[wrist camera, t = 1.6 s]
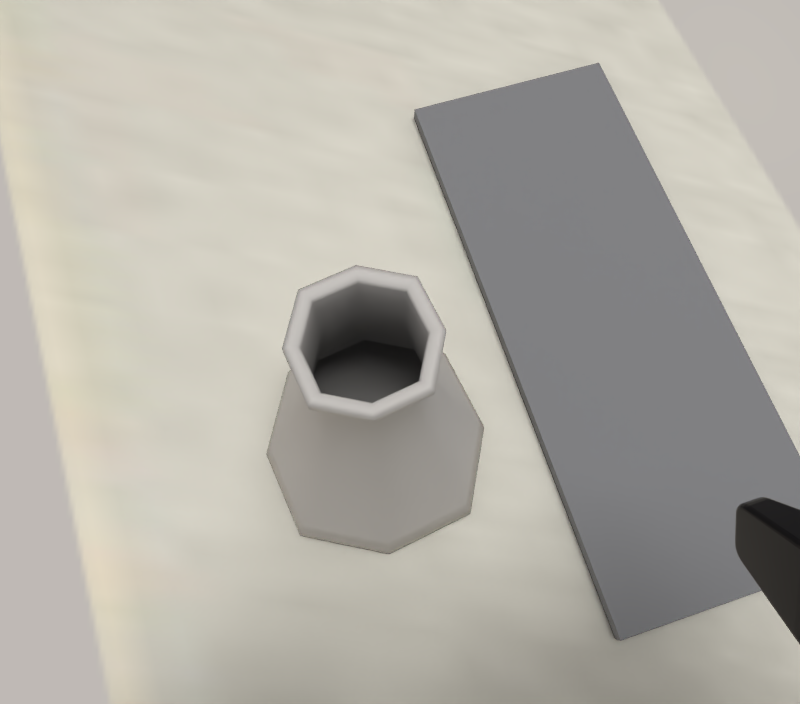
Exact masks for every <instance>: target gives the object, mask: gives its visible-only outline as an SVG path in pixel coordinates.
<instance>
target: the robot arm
mask: <svg viewBox="0 0 800 704" xmlns="http://www.w3.org/2000/svg"><path fill="white" fill-rule="evenodd" d="M735 547H736V551H737V554H738V556H739V558H740V560H741V561H742V563H743V564H744V566H745V567H746V569H747V570H748V572H749V573H750V574H751V576H752V577H753V579H754V580H755V582H756V583H757V584H758V586H759V587H760V589H761V590H762V591H763V593H764V594H765V596H766V597H767V599H768V600H769V601H770V603H771V604H772V606H773V607H774V609H775V610H776V611H777V613H778V614H779V616H780V617H781V619H782V620H783V621H784V623H785V624H786V626H787V627H788V628H789V630H790V631H791V633H792V634H793V636H794V637H795V638H796V640H797V641H798V642H799V644H800V509H797V508H795V507H792V506H789V505H786V504H784V503H781V502H778V501H776V500H773V499H770V498H766V497H759V498H756V499H753V500H750V501H747V502H744V503H742V504H740V505H739V506H738V507H737V509H736V523H735Z"/></svg>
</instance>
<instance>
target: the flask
mask: <svg viewBox="0 0 800 704" xmlns="http://www.w3.org/2000/svg"><path fill="white" fill-rule="evenodd" d="M445 335H446V329H445V327H444V325H443V323H442V321H441V319H440V317H439V316H438V314H437V312H436V310H435V308H434V306H433V304H432V303H431V301H430V299H429V297H428V295H427V293H426V291H425V290H424V288H423V286H422V284H421V282H420V280H419V278H418V277H417V276H412V275H406V274H401V273H396V272H390V271H385V270H379V269H374V268H369V267H363V266H358V265H355V266H353V267H351V268H348V269H346V270H343V271H341V272H339V273H336V274H334V275H332V276H329V277H327V278H325V279H322V280H320V281H318V282H315V283H313V284H310V285H308V286H306V287H303V288H301V289H299V290H298V292H297V296H296V299H295V303H294V307H293V310H292V314H291V318H290V321H289V325H288V329H287V332H286V336H285V340H284V343H283V347H282V350H283V353H284V355H285V357H286V360H287V362H288V364H289V366H290V369H291V370H290V371H289V372H288V375H287V378H286V382H285V386H284V390H283V393H282V397H281V401H280V405H279V409H278V412H277V416H276V420H275V424H274V427H273V431H272V435H271V439H270V442H269V446H268V450H267V456H268V459H269V461H270V464H271V466H272V468H273V471H274V473H275V476H276V478H277V480H278V483H279V485H280V488H281V490H282V492H283V495H284V497H285V500H286V502H287V504H288V507H289V509H290V512H291V514H292V516H293V519H294V521H295V523H296V526H297V528H298V531H299V533H300V535H301V536H306V537H311V538H316V539H321V540H325V541H330V542H335V543H340V544H345V545H349V546H354V547H359V548H364V549H369V550H374V551H378V552H383V553H388V554H390V553H392V552H394V551H396V550H398V549H400V548H402V547H404V546H406V545H408V544H410V543H412V542H414V541H416V540H418V539H420V538H422V537H424V536H426V535H428V534H430V533H432V532H434V531H436V530H438V529H440V528H442V527H444V526H446V525H448V524H450V523H452V522H454V521H456V520H458V519H460V518H462V517H464V516H466V515H468V514H470V512H471V506H472V500H473V494H474V487H475V481H476V475H477V469H478V462H479V456H480V450H481V444H482V437H483V431H484V426H483V424H482V422H481V420H480V418H479V417H478V415H477V413H476V411H475V409H474V407H473V405H472V403H471V401H470V400H469V398H468V396H467V394H466V392H465V390H464V388H463V386H462V384H461V383H460V381H459V379H458V377H457V375H456V373H455V371H454V369H453V367H452V366H451V364H450V362H449V360H448V358H447V356H446V354H445V353H442V351H443V346H444V341H445Z"/></svg>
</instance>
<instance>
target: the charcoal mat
mask: <svg viewBox="0 0 800 704" xmlns="http://www.w3.org/2000/svg"><path fill="white" fill-rule="evenodd" d="M414 119H415V121H416V124H417V126H418V129H419V131H420V134H421V137H422V139H423V142H424V144H425V147H426V150H427V152H428V155H429V157H430V160H431V163H432V165H433V168H434V170H435V173H436V175H437V178H438V181H439V183H440V186H441V188H442V191H443V194H444V196H445V199H446V201H447V204H448V207H449V209H450V212H451V214H452V217H453V219H454V222H455V225H456V227H457V230H458V232H459V235H460V238H461V240H462V243H463V245H464V248H465V251H466V253H467V256H468V258H469V261H470V263H471V266H472V269H473V271H474V274H475V276H476V279H477V282H478V284H479V287H480V289H481V292H482V295H483V297H484V300H485V302H486V305H487V307H488V310H489V313H490V315H491V318H492V320H493V323H494V326H495V328H496V331H497V333H498V336H499V338H500V341H501V344H502V346H503V349H504V351H505V354H506V357H507V359H508V362H509V364H510V367H511V370H512V372H513V375H514V377H515V380H516V382H517V385H518V388H519V390H520V393H521V395H522V398H523V401H524V403H525V406H526V408H527V411H528V414H529V416H530V419H531V421H532V424H533V426H534V429H535V432H536V434H537V437H538V439H539V442H540V445H541V447H542V450H543V452H544V455H545V458H546V460H547V463H548V465H549V468H550V470H551V473H552V476H553V478H554V481H555V483H556V486H557V489H558V491H559V494H560V496H561V499H562V502H563V504H564V507H565V509H566V512H567V514H568V517H569V520H570V522H571V525H572V527H573V530H574V533H575V535H576V538H577V540H578V543H579V546H580V548H581V551H582V553H583V556H584V558H585V561H586V564H587V566H588V569H589V571H590V574H591V577H592V579H593V582H594V584H595V587H596V590H597V592H598V595H599V597H600V600H601V602H602V605H603V608H604V610H605V613H606V615H607V618H608V621H609V623H610V626H611V628H612V631H613V633H614V636H615V639H617V640H623V639H626V638H629V637H632V636H635V635H638V634H640V633H643V632H646V631H649V630H652V629H654V628H657V627H660V626H663V625H666V624H668V623H671V622H674V621H677V620H680V619H682V618H685V617H688V616H691V615H694V614H697V613H699V612H702V611H705V610H708V609H711V608H713V607H716V606H719V605H722V604H725V603H727V602H730V601H733V600H736V599H739V598H741V597H744V596H747V595H750V594H753V593H756V592H758V591H761V589H760V587H759V586H758V584H757V583H756V582H755V580H754V579H753V577H752V576H751V574H750V573H749V572H748V570H747V569H746V567H745V566H744V564H743V563H742V561H741V560H740V558H739V556H738V554H737V551H736V547H735V523H736V509H737V507H738V506H739V505H740V504H742V503H744V502H747V501H750V500H753V499H756V498H759V497H766V498H770V499H773V500H776V501H778V502H781V503H784V504H786V505H789V506H792V507H795V508H797V509H800V456H799V454H798V452H797V450H796V448H795V446H794V444H793V442H792V440H791V438H790V436H789V434H788V432H787V430H786V428H785V426H784V424H783V422H782V420H781V418H780V416H779V415H778V413H777V411H776V409H775V407H774V405H773V403H772V401H771V399H770V397H769V395H768V393H767V391H766V389H765V387H764V385H763V383H762V381H761V379H760V377H759V375H758V373H757V371H756V369H755V368H754V366H753V364H752V362H751V360H750V358H749V356H748V354H747V352H746V350H745V348H744V346H743V344H742V342H741V340H740V338H739V336H738V334H737V332H736V330H735V328H734V326H733V324H732V322H731V321H730V319H729V317H728V315H727V313H726V311H725V309H724V307H723V305H722V303H721V301H720V299H719V297H718V295H717V293H716V291H715V289H714V287H713V285H712V283H711V281H710V279H709V277H708V275H707V273H706V272H705V270H704V268H703V266H702V264H701V262H700V260H699V258H698V256H697V254H696V252H695V250H694V248H693V246H692V244H691V242H690V240H689V238H688V236H687V234H686V232H685V230H684V228H683V226H682V225H681V223H680V221H679V219H678V217H677V215H676V213H675V211H674V209H673V207H672V205H671V203H670V201H669V199H668V197H667V195H666V193H665V191H664V189H663V187H662V185H661V183H660V181H659V179H658V178H657V176H656V174H655V172H654V170H653V168H652V166H651V164H650V162H649V160H648V158H647V156H646V154H645V152H644V150H643V148H642V146H641V144H640V142H639V140H638V138H637V136H636V134H635V132H634V131H633V129H632V127H631V125H630V123H629V121H628V119H627V117H626V115H625V113H624V111H623V109H622V107H621V105H620V103H619V101H618V99H617V97H616V95H615V93H614V91H613V89H612V87H611V85H610V84H609V82H608V80H607V78H606V76H605V74H604V72H603V70H602V68H601V66H600V64H599V63H596V64H592V65H588V66H584V67H580V68H577V69H573V70H569V71H565V72H561V73H557V74H553V75H549V76H545V77H541V78H537V79H533V80H529V81H525V82H521V83H517V84H514V85H510V86H506V87H502V88H498V89H494V90H490V91H486V92H482V93H478V94H474V95H470V96H466V97H462V98H458V99H454V100H451V101H447V102H443V103H439V104H435V105H431V106H427V107H423V108H419V109H415V114H414Z"/></svg>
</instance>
